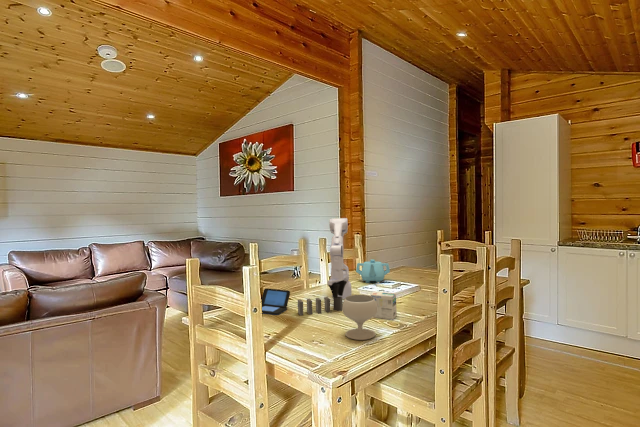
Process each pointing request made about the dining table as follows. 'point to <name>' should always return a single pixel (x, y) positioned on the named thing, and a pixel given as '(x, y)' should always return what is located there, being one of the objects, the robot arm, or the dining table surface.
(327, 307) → the domino
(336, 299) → the domino
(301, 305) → the domino
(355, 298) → the chalice
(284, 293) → the handheld game console
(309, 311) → the domino
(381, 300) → the light bulb box
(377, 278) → the teapot
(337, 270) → the robot arm
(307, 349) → the dining table surface
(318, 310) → the domino
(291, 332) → the dining table surface
